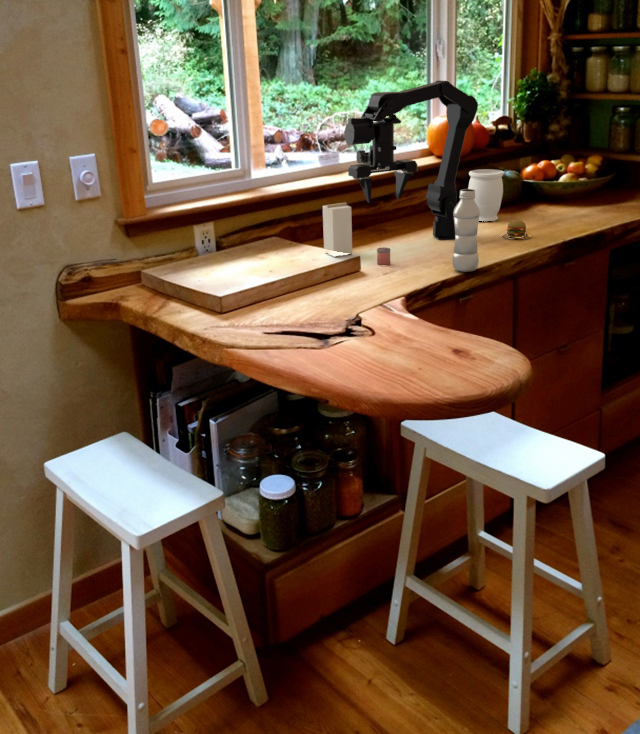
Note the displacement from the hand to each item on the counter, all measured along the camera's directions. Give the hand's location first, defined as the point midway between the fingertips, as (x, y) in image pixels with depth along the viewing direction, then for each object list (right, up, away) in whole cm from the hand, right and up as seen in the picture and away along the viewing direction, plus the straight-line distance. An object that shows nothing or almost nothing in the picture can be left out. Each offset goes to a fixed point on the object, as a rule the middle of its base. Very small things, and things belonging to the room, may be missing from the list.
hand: (383, 200), depth 225 cm
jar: (+34, 0, +33) cm, 47 cm away
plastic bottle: (+19, -22, -21) cm, 36 cm away
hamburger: (+39, -9, +11) cm, 41 cm away
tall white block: (-12, -15, -1) cm, 19 cm away
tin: (-1, -19, -12) cm, 23 cm away
